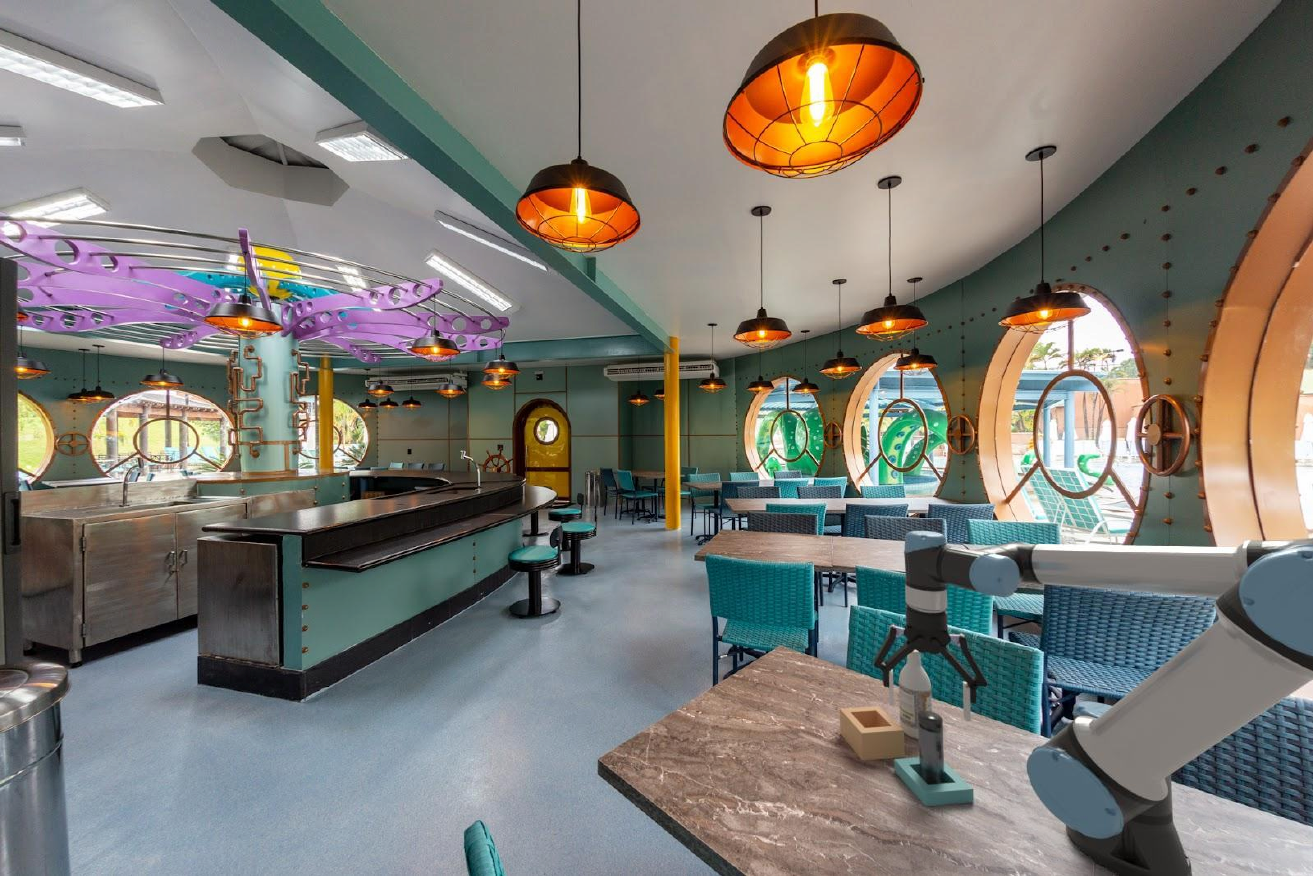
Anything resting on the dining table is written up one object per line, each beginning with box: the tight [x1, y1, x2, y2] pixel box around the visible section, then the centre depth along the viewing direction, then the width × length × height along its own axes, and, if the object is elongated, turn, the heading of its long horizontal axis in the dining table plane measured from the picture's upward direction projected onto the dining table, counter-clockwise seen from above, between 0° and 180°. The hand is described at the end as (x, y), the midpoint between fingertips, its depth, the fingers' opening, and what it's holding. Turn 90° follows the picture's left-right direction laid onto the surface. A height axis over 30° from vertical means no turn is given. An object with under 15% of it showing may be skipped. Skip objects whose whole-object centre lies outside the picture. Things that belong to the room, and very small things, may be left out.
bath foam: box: [898, 650, 933, 740], centre depth 114 cm, size 7×7×20 cm
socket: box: [839, 705, 906, 761], centre depth 109 cm, size 10×10×6 cm
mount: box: [893, 756, 975, 807], centre depth 95 cm, size 10×10×2 cm
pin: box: [918, 711, 945, 785], centre depth 95 cm, size 4×4×14 cm
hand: (928, 710), depth 96 cm, fingers open, 13 cm apart
